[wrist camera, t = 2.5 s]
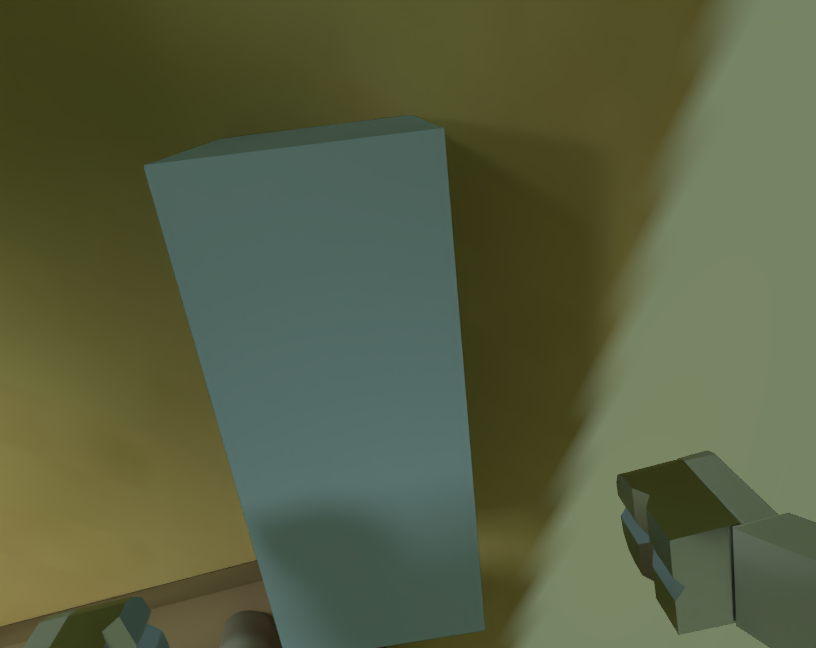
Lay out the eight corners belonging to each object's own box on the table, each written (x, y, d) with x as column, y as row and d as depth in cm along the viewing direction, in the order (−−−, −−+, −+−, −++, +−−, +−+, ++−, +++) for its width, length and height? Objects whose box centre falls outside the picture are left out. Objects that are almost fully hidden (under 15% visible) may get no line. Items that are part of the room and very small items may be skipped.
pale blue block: (223, 138, 15) (143, 165, 9) (411, 114, 15) (444, 128, 9) (306, 499, 19) (286, 661, 14) (448, 478, 20) (485, 630, 14)
